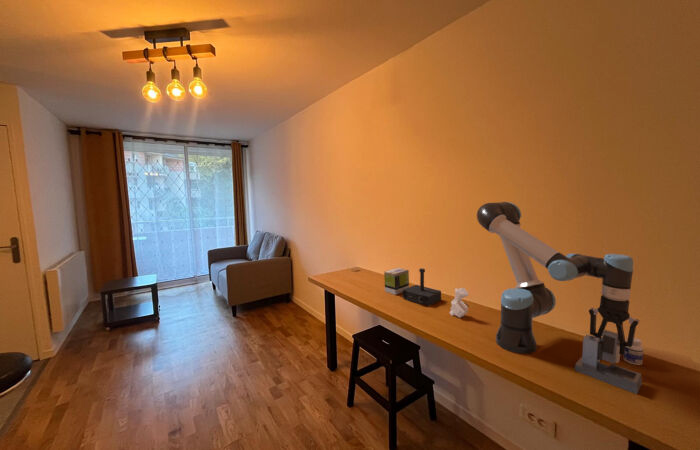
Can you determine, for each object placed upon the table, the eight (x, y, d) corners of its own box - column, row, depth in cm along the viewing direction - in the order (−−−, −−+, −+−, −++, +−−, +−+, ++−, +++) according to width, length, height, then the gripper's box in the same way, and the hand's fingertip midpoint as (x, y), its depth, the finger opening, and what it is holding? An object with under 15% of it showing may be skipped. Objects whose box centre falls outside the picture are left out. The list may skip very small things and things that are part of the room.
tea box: (398, 287, 204) (398, 267, 203) (409, 290, 196) (409, 269, 195) (384, 291, 194) (383, 271, 193) (395, 295, 187) (395, 273, 185)
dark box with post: (400, 299, 178) (400, 269, 177) (416, 293, 190) (415, 264, 188) (427, 307, 164) (427, 274, 163) (441, 300, 175) (442, 269, 174)
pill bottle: (622, 356, 111) (623, 334, 110) (641, 360, 107) (642, 338, 106) (623, 362, 106) (625, 339, 106) (643, 367, 103) (645, 344, 102)
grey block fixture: (574, 370, 102) (576, 337, 101) (581, 363, 106) (583, 331, 105) (637, 394, 89) (639, 357, 88) (641, 384, 94) (644, 349, 93)
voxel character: (449, 300, 161) (462, 283, 152) (463, 318, 153) (478, 301, 145) (440, 302, 157) (454, 286, 148) (454, 321, 150) (469, 304, 141)
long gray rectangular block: (613, 364, 100) (616, 338, 99) (599, 359, 103) (601, 333, 102) (617, 359, 103) (619, 333, 102) (602, 354, 106) (605, 329, 105)
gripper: (581, 293, 105) (576, 351, 108) (647, 307, 92) (639, 374, 94) (587, 288, 110) (582, 344, 112) (651, 302, 96) (643, 365, 99)
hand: (608, 358), depth 103 cm, fingers closed on long gray rectangular block, 4 cm apart
